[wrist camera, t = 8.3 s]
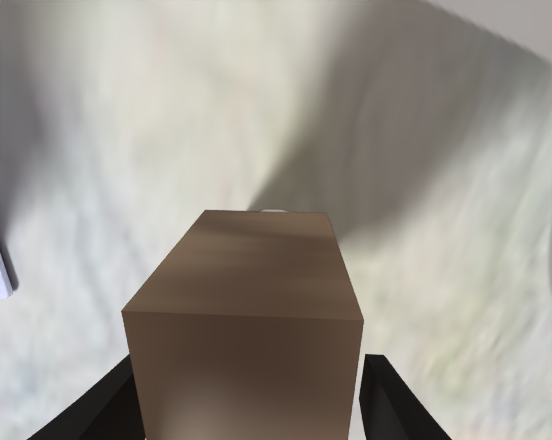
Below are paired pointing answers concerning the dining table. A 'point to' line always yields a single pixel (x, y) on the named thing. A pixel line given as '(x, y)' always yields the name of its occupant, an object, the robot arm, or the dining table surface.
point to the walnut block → (247, 332)
